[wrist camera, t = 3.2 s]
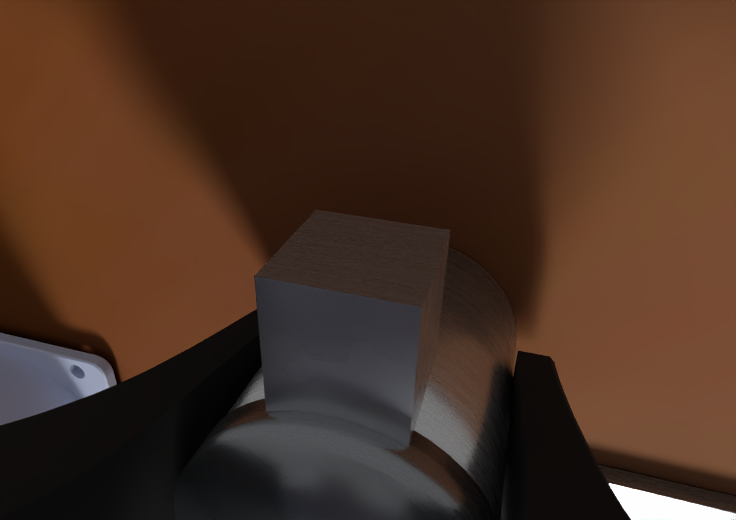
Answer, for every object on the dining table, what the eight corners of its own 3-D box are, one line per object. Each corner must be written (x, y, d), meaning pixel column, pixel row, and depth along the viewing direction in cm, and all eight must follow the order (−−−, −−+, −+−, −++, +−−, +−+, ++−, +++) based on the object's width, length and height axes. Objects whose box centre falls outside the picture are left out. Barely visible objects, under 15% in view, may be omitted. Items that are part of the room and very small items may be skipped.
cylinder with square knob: (317, 383, 15) (195, 605, 10) (311, 133, 11) (120, 276, 6) (501, 426, 14) (472, 702, 9) (556, 162, 10) (562, 364, 5)
